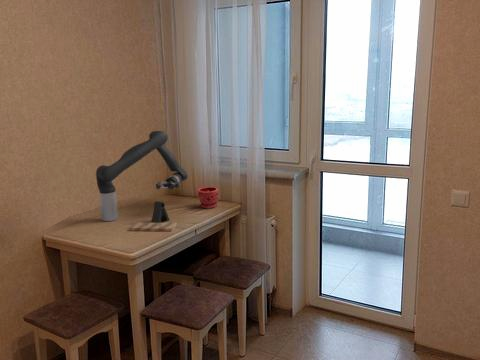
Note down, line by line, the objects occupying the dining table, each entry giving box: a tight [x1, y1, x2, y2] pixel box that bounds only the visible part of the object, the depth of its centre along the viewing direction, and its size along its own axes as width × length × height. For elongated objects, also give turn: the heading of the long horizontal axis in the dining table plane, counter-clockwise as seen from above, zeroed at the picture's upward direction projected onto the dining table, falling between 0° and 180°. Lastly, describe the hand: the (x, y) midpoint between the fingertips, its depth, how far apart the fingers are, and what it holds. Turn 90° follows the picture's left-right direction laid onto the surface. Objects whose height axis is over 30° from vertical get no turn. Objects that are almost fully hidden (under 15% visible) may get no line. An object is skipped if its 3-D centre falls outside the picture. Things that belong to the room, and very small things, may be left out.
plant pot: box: [197, 186, 219, 209], centre depth 276 cm, size 13×13×12 cm
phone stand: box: [150, 200, 170, 223], centre depth 248 cm, size 9×6×12 cm, turn 140°
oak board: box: [129, 221, 177, 232], centre depth 237 cm, size 24×10×2 cm, turn 82°
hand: (164, 187), depth 256 cm, fingers open, 8 cm apart
